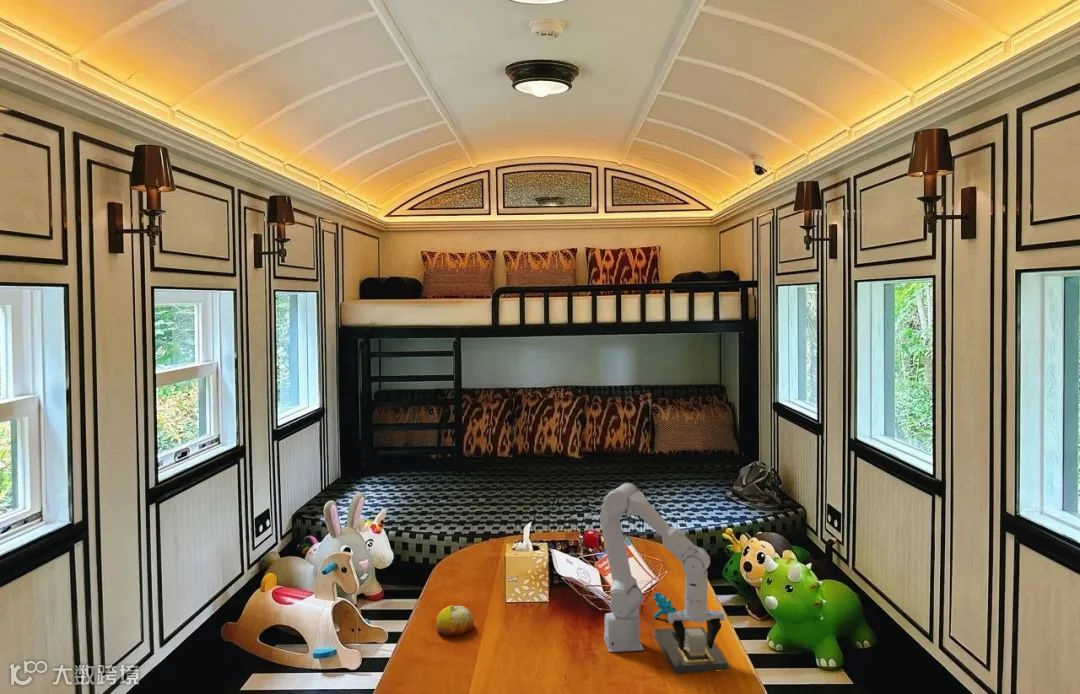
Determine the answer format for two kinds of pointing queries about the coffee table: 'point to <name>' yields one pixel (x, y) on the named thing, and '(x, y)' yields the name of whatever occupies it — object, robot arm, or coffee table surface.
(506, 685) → the coffee table surface
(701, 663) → the hole plate
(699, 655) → the steel peg
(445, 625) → the fruit
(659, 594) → the teal lobed piece
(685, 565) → the robot arm
